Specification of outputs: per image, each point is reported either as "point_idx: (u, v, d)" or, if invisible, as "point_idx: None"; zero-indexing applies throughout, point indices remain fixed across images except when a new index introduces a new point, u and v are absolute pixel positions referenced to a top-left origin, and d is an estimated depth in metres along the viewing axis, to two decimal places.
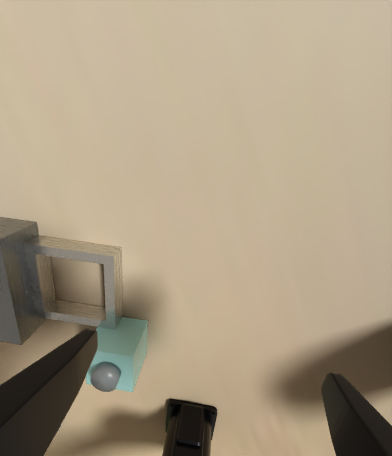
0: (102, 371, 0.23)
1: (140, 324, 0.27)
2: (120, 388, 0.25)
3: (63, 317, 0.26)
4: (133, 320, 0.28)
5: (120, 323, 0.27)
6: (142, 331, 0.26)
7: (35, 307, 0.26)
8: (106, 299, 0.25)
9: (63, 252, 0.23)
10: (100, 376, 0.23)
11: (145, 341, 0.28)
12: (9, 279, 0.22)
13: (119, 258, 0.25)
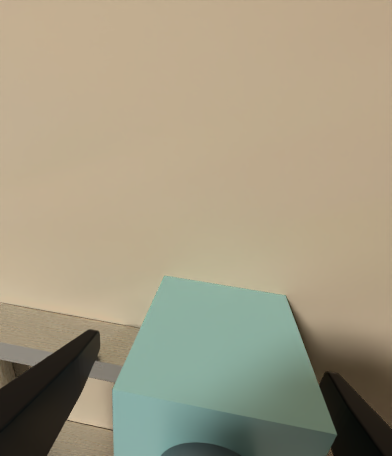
0: None
1: None
2: None
3: None
4: None
5: None
6: None
7: None
8: None
9: None
10: None
11: (221, 295, 0.09)
12: None
13: None
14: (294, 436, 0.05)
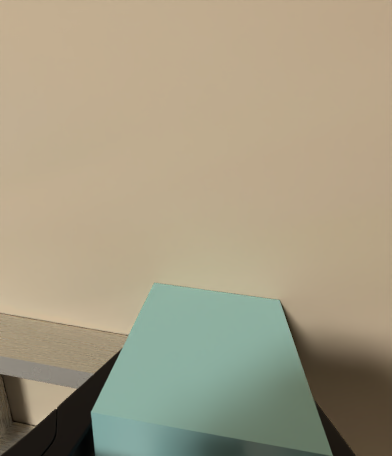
0: None
1: None
2: None
3: None
4: None
5: None
6: None
7: None
8: (40, 378, 0.10)
9: None
10: None
11: (212, 303, 0.09)
12: None
13: None
14: None
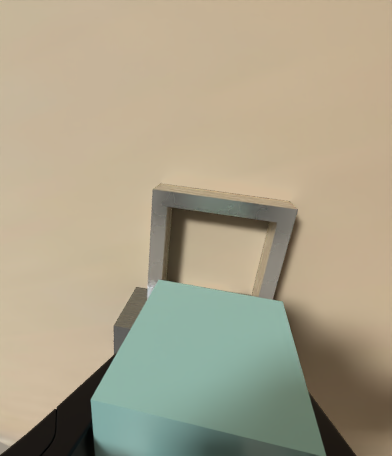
0: None
1: None
2: None
3: (268, 289, 0.17)
4: None
5: None
6: (143, 308, 0.08)
7: None
8: (231, 213, 0.15)
9: (154, 260, 0.17)
10: None
11: (215, 301, 0.09)
12: None
13: (172, 186, 0.16)
14: None
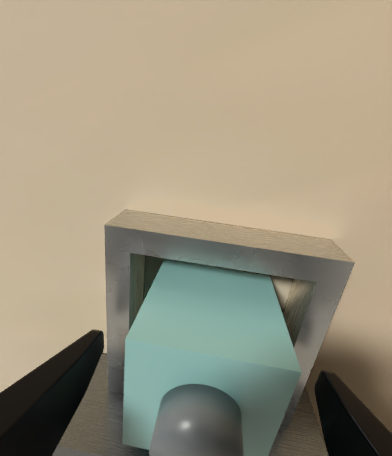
0: None
1: None
2: (280, 402, 0.07)
3: None
4: None
5: None
6: None
7: None
8: (238, 266, 0.09)
9: (114, 331, 0.11)
10: None
11: (214, 275, 0.11)
12: None
13: (141, 216, 0.10)
14: (269, 375, 0.07)
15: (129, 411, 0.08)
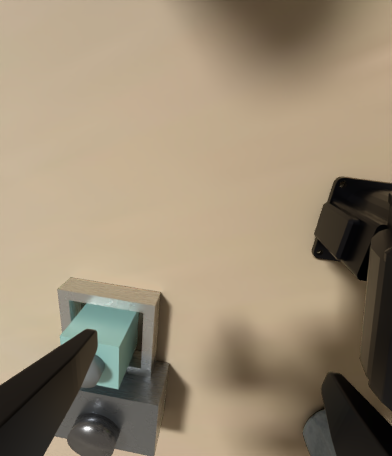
0: None
1: None
2: (115, 358, 0.20)
3: (147, 354, 0.23)
4: None
5: None
6: (81, 310, 0.23)
7: (138, 374, 0.25)
8: (112, 306, 0.22)
9: None
10: None
11: (110, 307, 0.24)
12: None
13: (76, 282, 0.23)
14: (109, 348, 0.20)
15: None
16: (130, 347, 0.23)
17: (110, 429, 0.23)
